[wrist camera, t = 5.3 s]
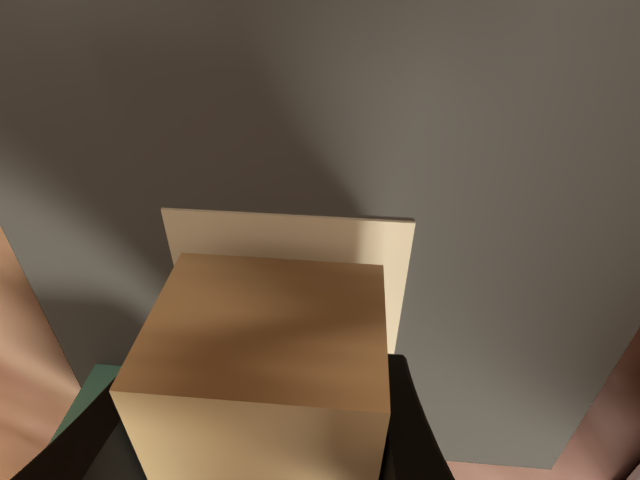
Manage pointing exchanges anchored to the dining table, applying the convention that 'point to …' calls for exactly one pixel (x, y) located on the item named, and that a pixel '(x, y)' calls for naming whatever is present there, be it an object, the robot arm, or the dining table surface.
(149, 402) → the maple block
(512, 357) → the grey flat slab
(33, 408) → the dining table surface
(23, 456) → the dining table surface
